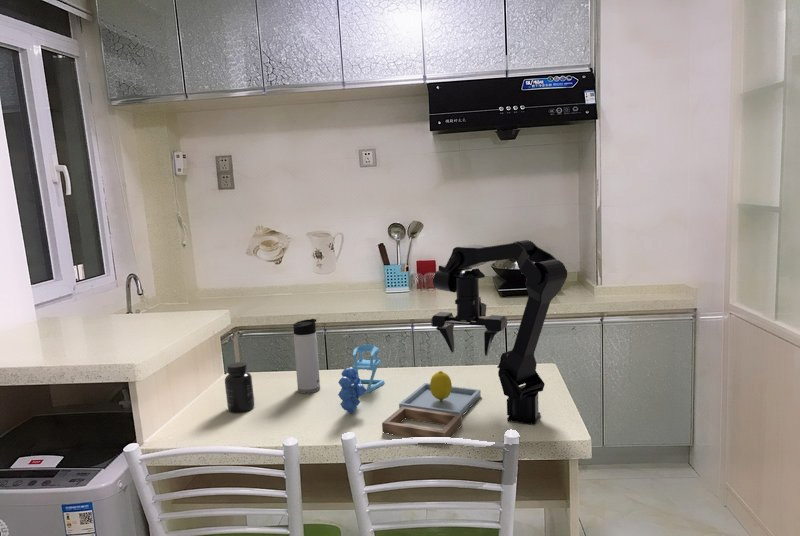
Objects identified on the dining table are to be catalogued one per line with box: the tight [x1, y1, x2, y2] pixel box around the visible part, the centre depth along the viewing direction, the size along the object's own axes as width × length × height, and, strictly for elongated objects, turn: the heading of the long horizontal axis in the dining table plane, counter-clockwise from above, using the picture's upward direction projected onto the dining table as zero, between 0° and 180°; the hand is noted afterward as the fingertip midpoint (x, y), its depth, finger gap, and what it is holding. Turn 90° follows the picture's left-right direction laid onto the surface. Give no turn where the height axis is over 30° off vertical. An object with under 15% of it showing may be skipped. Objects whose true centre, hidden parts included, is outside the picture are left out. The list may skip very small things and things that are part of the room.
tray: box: [398, 382, 482, 416], centre depth 144 cm, size 16×16×2 cm
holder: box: [381, 406, 463, 438], centre depth 129 cm, size 15×10×2 cm
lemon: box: [429, 370, 453, 401], centre depth 144 cm, size 6×6×8 cm
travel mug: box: [292, 318, 321, 394], centre depth 158 cm, size 6×7×20 cm
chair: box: [351, 343, 385, 394], centre depth 158 cm, size 8×8×12 cm
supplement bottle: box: [224, 361, 255, 414], centre depth 146 cm, size 7×7×12 cm
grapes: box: [337, 366, 367, 414], centre depth 140 cm, size 12×7×12 cm, turn 168°
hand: (469, 353), depth 145 cm, fingers open, 9 cm apart
